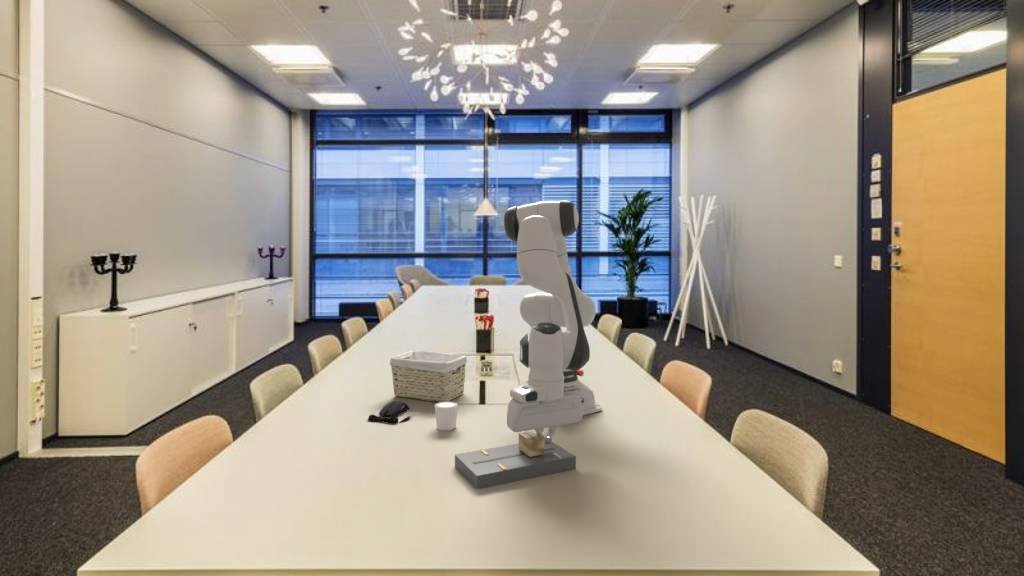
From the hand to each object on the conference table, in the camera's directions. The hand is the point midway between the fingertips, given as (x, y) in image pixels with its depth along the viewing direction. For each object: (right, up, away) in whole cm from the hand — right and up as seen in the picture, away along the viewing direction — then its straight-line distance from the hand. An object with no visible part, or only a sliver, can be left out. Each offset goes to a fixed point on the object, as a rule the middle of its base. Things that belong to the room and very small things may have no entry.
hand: (545, 443), depth 138 cm
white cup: (-28, -3, +27) cm, 39 cm away
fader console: (-8, -5, -3) cm, 10 cm away
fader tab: (-4, -1, -2) cm, 4 cm away
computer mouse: (-45, -3, +39) cm, 59 cm away
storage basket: (-38, 0, +62) cm, 73 cm away
